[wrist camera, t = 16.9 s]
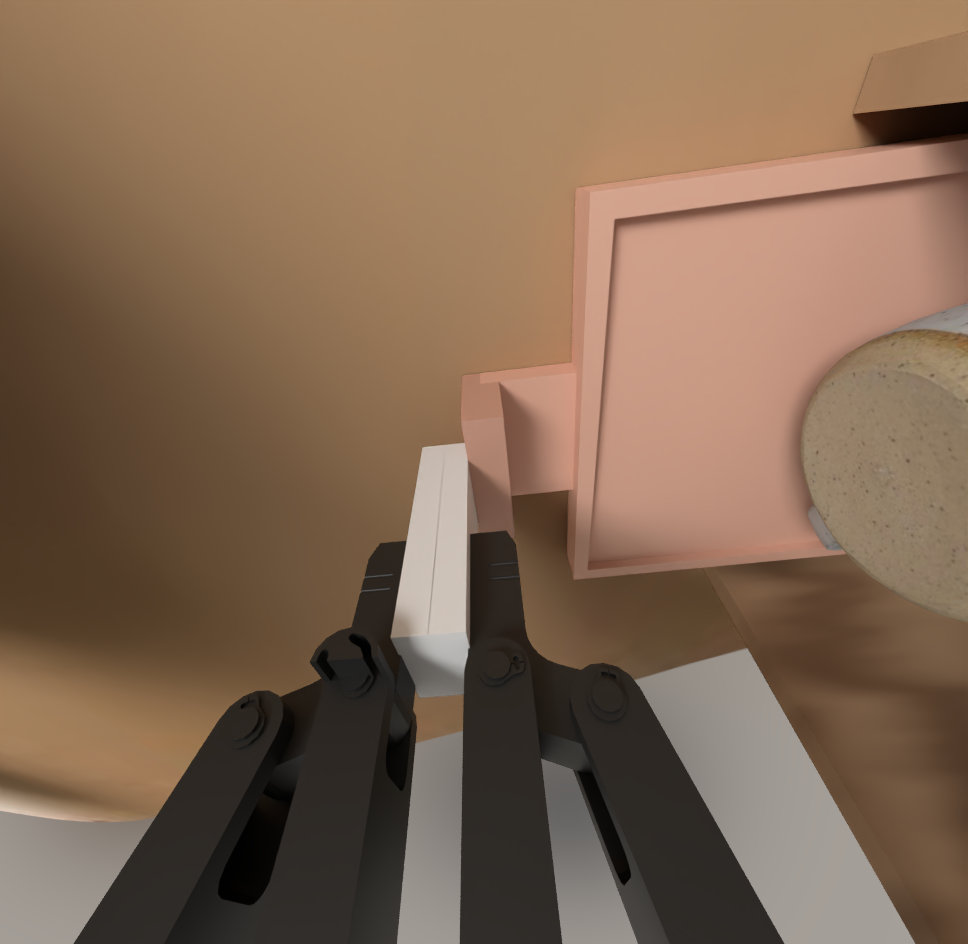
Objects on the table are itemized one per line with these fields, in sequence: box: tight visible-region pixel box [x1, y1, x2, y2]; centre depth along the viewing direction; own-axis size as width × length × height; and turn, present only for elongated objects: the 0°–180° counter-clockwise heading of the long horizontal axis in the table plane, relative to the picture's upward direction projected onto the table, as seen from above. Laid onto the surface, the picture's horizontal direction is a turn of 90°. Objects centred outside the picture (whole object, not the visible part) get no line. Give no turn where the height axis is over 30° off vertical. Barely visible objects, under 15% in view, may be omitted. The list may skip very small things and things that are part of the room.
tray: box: [461, 133, 968, 580], centre depth 13 cm, size 18×15×3 cm
